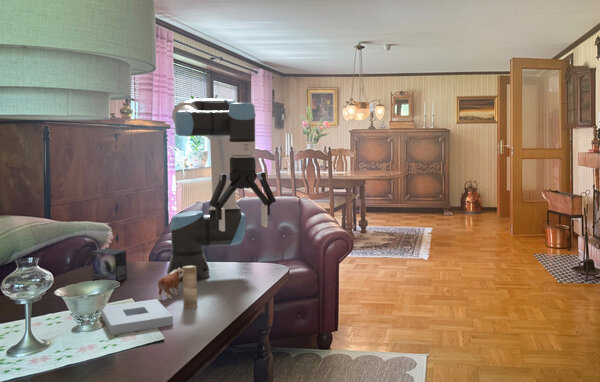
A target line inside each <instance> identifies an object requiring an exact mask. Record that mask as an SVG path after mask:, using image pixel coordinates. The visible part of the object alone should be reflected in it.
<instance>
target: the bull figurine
mask: <svg viewBox="0 0 600 382" xmlns="http://www.w3.org/2000/svg"><path fill="white" fill-rule="evenodd" d="M182 276H183V270H182V269H181V268H178V269H174V270H173V271H172V272H171V273H169V274H168V275H166V276H163V277H162V278H160V279H159V281H158V283H157V286H158V296H159V297H158V301H162V300H163V298H162V293H164V295H165V297H167V298H168V299H169V300H170V299H171V300H173V297H172V295H171V294H174V295H175V296H178V295H179V294H178V288H179V284H180V281H179V278H181V277H182ZM173 288H174V290H173Z"/></svg>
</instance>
